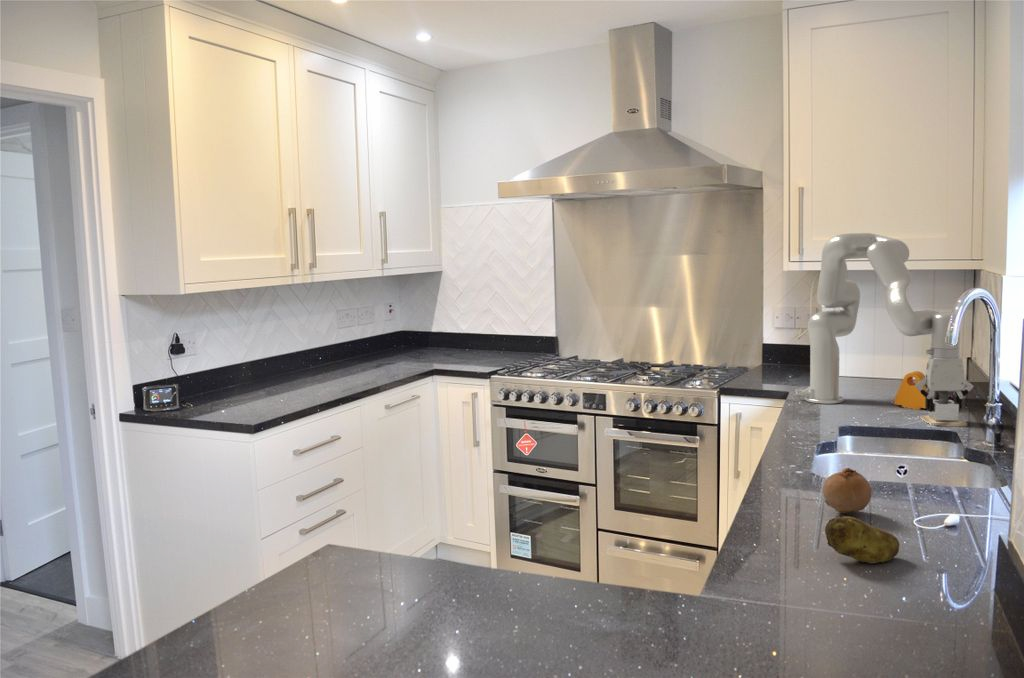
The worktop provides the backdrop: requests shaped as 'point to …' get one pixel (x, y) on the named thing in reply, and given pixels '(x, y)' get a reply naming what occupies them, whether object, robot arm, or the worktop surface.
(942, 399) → the post stand
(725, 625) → the worktop surface
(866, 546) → the potato
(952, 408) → the collar
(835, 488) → the onion
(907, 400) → the bracket
